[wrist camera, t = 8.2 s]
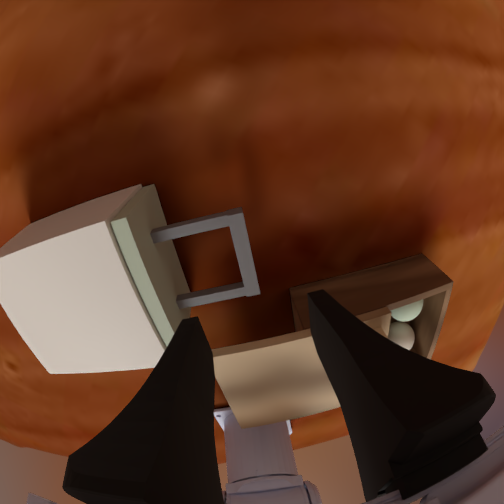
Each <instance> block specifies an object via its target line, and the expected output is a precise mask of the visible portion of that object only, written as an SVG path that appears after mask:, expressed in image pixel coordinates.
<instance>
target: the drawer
mask: <svg viewBox="0 0 504 504" xmlns="http://www.w3.org/2000/svg"><path fill="white" fill-rule="evenodd" d="M111 225H112V228H113V230H114V233H115V236H116V238H117V241H118V243H119V246H120V248H121V251H122V253H123V256H124V258H125V261H126V263H127V265H128V268H129V270H130V272H131V275H132V277H133V279H134V281H135V284H136V286H137V288H138V290H139V292H140V295H141V297H142V299H143V301H144V303H145V305H146V307H147V309H148V312H149V314H150V316H151V318H152V320H153V322H154V324H155V326H156V328H157V330H158V331H159V333H160V335H161V337H162V339H163V341H164V343H165V345H166V347H167V346H168V344H169V342H170V341H171V339H172V337H173V335H174V333H175V331H176V329H177V328H178V326H179V324H180V322H181V321H182V319H187V318H190V312H191V307H192V306H197V305H203V304H208V303H213V302H218V301H222V300H227V299H232V298H237V297H242V296H247V297H249V296H254V295H258V294H260V289H259V285H258V280H257V275H256V271H255V266H254V262H253V257H252V252H251V248H250V243H249V238H248V234H247V229H246V225H245V220H244V215H243V211H242V207H239V208H234V209H230V210H227V211H225V212H221V213H216V214H212V215H208V216H203V217H199V218H195V219H191V220H187V221H183V222H178V223H174V224H170V225H167V223H166V220H165V217H164V213H163V210H162V207H161V204H160V200H159V197H158V194H157V190H156V187H155V184H152V185H148V186H145V187H142V188H141V189H140V191H139V192H138V193H137V194H136V195H135V196H134V197H133V198H132V199H131V200H130V201H129V202H128V203H127V204H126V205H125V206H124V207H123V209H122V210H121V211H120V212H119V213H118V214H117V215H116V216H115V217H114V218H113V220H112V221H111ZM227 226H229V227H230V231H231V235H232V239H233V243H234V247H235V251H236V255H237V259H238V263H239V268H240V272H241V276H242V280H243V282H238V283H234V284H229V285H224V286H220V287H215V288H210V289H205V290H200V291H195V292H190V290H189V287H188V284H187V281H186V279H185V276H184V273H183V270H182V268H181V265H180V262H179V259H178V256H177V253H176V250H175V247H174V244H173V241H172V239H175V238H179V237H184V236H188V235H192V234H196V233H201V232H205V231H209V230H214V229H218V228H223V227H227Z"/></svg>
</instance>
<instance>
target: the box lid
mask: <svg viewBox="0 0 504 504" xmlns="http://www.w3.org/2000/svg"><path fill="white" fill-rule="evenodd" d="M391 314H392V312H391V311H390V310H389V308H388V307H383V308H380V309H377V310H374V311H371V312H367V313H364V314H361V315H357V316H356V317H357V318H358V319H360V320H361V321H362V322H364V323H365V324H366V325H368V326H369V327H371V328H372V329H374V330H375V331H377V332H378V333H380V334H381V335H383V336H384V337H386V338H388V333H389V327H390V321H391ZM211 350H212V353H213V361H214V372H215V377H216V379H217V381H218V383H219V385H220V387H221V390H222V392H223V394H224V396H225V398H226V400H227V402H228V404H229V406H230V408H231V410H232V411H233V413H234V415H235V417H236V419H237V421H238V423H239V425H240V427H241V429H245V428H251V427H257V426H262V425H268V424H273V423H278V422H283V421H287V420H292V419H296V418H300V417H304V416H308V415H312V414H316V413H320V412H324V411H327V410H331V409H334V408H337V407H341V406H340V404H339V401H338V398H337V396H336V394H335V392H334V390H333V387H332V385H331V383H330V381H329V379H328V376H327V374H326V372H325V370H324V367H323V365H322V363H321V361H320V359H319V356H318V354H317V351H316V348H315V345H314V341H313V338H312V335H311V330H310V329H306V330H302V331H298V332H294V333H289V334H285V335H281V336H277V337H272V338H267V339H263V340H258V341H253V342H248V343H243V344H238V345H233V346H228V347H222V348H217V349H211Z"/></svg>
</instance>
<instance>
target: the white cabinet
mask: <svg viewBox="0 0 504 504" xmlns="http://www.w3.org/2000/svg"><path fill="white" fill-rule="evenodd" d="M141 188H142V185H141V184H139V185H136V186H132V187H129V188H126V189H123V190H120V191H117V192H114V193H111V194H108V195H105V196H102V197H99V198H96V199H93V200H90V201H87V202H84V203H82V204H79V205H76V206H74V207H71V208H68V209H66V210H63V211H60V212H58V213H55V214H53V215H50V216H48V217H45V218H43V219H40V220H38V221H36V222H33V223H31V224H29V225H28V226H27V227H25V228H24V229H23V230H22V231H20V232H19V233H18V234H17V235H15V236H14V237H13V238H12V239H11V240H9V241H8V242H7V243H6V244H5V245H3V246H2V247H1V248H0V303H1V305H2V307H3V309H4V310H5V312H6V313H7V315H8V317H9V318H10V320H11V321H12V323H13V325H14V326H15V328H16V329H17V331H18V332H19V334H20V335H21V336H22V338H23V339H24V341H25V342H26V344H27V345H28V346H29V348H30V349H31V350H32V352H33V353H34V354H35V356H36V357H37V358H38V360H39V361H40V362H41V364H42V365H43V366H44V367H45V369H46V370H47V371H48V372H49V373H50V374H68V373H94V372H110V371H123V370H135V369H145V368H154V367H155V366H156V365H157V363H158V362H159V360H160V358H161V356H162V355H163V353H164V351H165V349H166V348H167V347H166V345H165V343H164V341H163V339H162V337H161V335H160V333H159V331H158V330H157V328H156V326H155V324H154V322H153V320H152V318H151V316H150V314H149V312H148V309H147V307H146V305H145V303H144V301H143V299H142V297H141V295H140V292H139V290H138V288H137V286H136V284H135V281H134V279H133V277H132V275H131V272H130V270H129V268H128V265H127V263H126V261H125V258H124V256H123V253H122V251H121V248H120V246H119V243H118V241H117V238H116V236H115V233H114V230H113V228H112V225H111V221H112V220H113V218H114V217H115V216H116V215H117V214H118V213H119V212H120V211H121V210H122V209H123V207H124V206H125V205H126V204H127V203H128V202H129V201H130V200H131V199H132V198H133V197H134V196H135V195H136V194H137V193H138V192H139V191H140V189H141Z"/></svg>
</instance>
